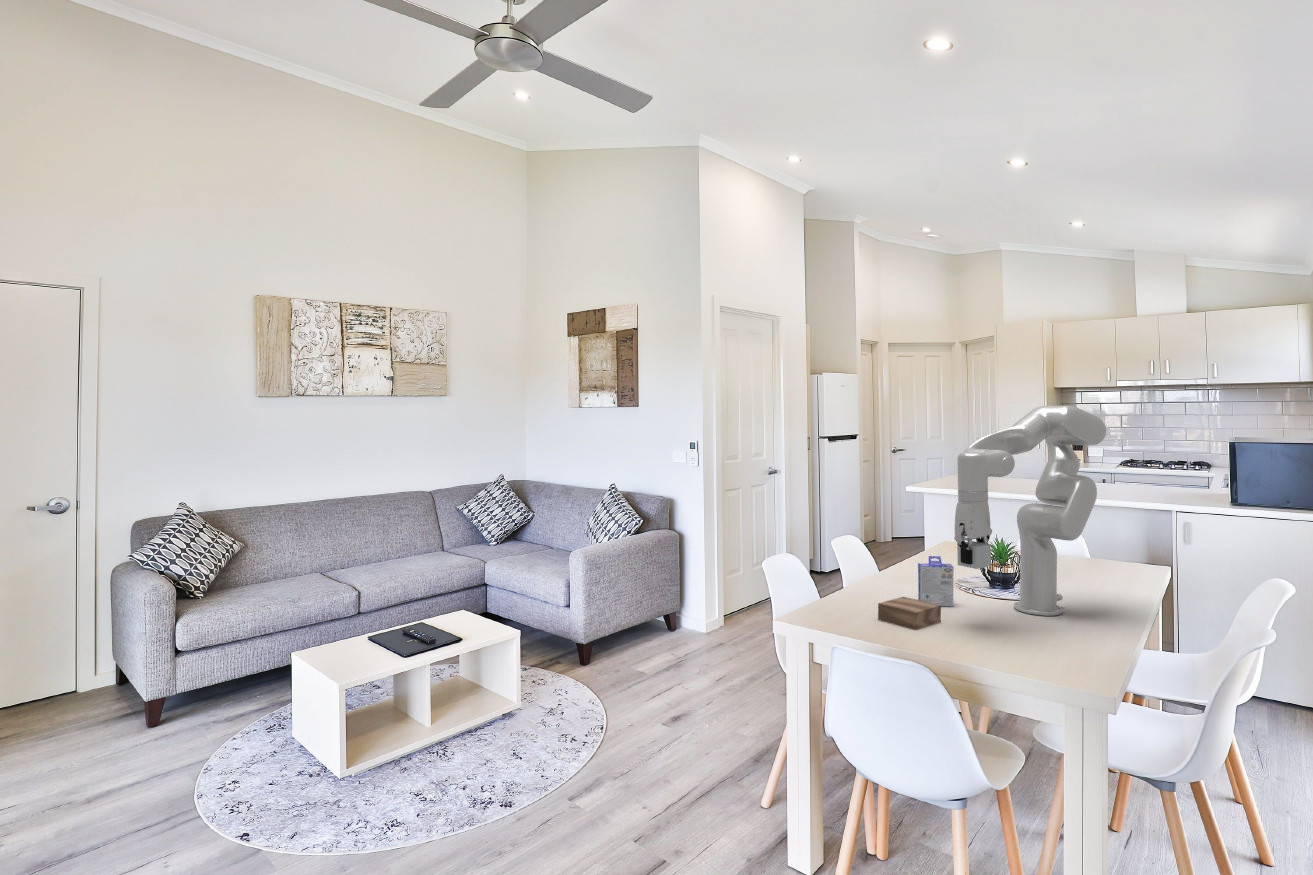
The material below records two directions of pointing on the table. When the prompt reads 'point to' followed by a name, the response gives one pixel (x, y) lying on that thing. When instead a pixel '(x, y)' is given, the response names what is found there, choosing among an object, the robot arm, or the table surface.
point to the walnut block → (909, 612)
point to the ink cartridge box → (935, 582)
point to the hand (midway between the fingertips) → (974, 561)
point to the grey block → (977, 555)
